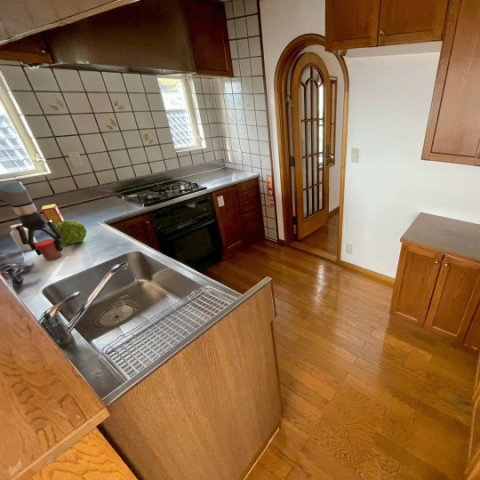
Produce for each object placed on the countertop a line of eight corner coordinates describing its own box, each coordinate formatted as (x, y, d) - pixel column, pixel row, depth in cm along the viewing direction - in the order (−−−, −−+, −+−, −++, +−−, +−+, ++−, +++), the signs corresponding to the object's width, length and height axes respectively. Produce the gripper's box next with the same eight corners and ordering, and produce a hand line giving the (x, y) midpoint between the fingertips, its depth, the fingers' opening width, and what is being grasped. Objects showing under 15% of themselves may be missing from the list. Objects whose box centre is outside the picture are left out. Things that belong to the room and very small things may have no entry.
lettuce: (61, 245, 167) (93, 239, 176) (51, 248, 147) (87, 242, 155) (54, 222, 165) (87, 217, 173) (42, 222, 144) (80, 217, 153)
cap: (33, 251, 133) (30, 247, 132) (40, 244, 140) (38, 240, 139) (54, 247, 136) (51, 243, 135) (60, 240, 143) (57, 237, 142)
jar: (44, 265, 138) (33, 247, 133) (50, 259, 144) (39, 241, 139) (61, 262, 141) (51, 244, 136) (66, 256, 147) (56, 238, 142)
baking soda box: (54, 226, 184) (42, 205, 176) (66, 224, 187) (55, 203, 180) (53, 231, 177) (40, 209, 170) (65, 228, 181) (54, 206, 173)
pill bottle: (36, 244, 161) (22, 221, 154) (42, 246, 158) (28, 223, 151) (18, 249, 155) (3, 227, 148) (24, 252, 152) (9, 229, 145)
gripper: (57, 206, 136) (77, 244, 147) (3, 214, 129) (28, 253, 139) (51, 211, 130) (72, 250, 141) (-6, 219, 123) (21, 260, 133)
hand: (50, 252), depth 140 cm, fingers closed on cap, 8 cm apart
